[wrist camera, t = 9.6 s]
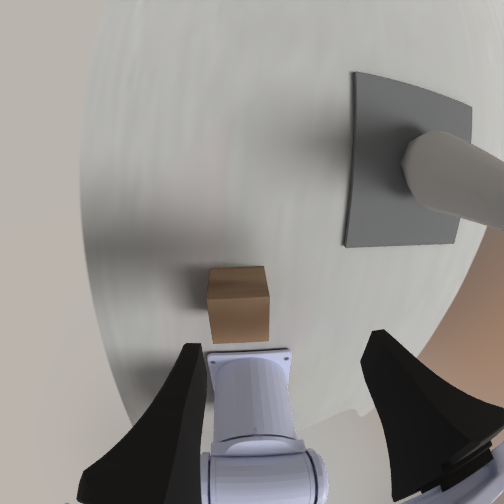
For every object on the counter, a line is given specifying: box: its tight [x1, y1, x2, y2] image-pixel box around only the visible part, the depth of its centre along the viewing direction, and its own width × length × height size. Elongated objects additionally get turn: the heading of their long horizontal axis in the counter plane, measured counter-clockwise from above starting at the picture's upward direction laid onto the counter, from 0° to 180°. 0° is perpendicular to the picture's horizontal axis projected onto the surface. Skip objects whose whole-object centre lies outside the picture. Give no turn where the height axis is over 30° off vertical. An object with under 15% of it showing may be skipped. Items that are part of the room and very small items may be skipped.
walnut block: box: [206, 266, 270, 344], centre depth 20 cm, size 4×4×4 cm
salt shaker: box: [400, 130, 504, 231], centre depth 11 cm, size 6×6×13 cm
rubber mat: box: [344, 72, 472, 248], centre depth 17 cm, size 13×12×1 cm
